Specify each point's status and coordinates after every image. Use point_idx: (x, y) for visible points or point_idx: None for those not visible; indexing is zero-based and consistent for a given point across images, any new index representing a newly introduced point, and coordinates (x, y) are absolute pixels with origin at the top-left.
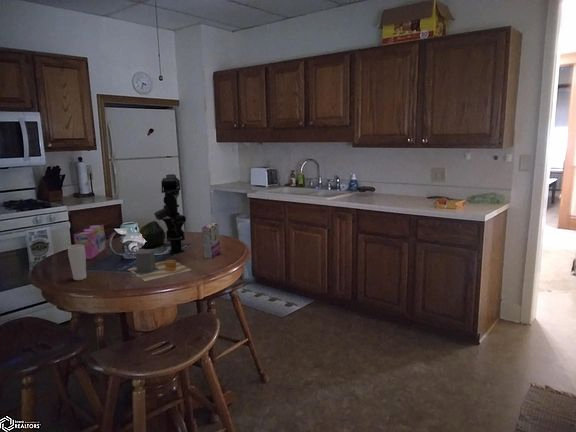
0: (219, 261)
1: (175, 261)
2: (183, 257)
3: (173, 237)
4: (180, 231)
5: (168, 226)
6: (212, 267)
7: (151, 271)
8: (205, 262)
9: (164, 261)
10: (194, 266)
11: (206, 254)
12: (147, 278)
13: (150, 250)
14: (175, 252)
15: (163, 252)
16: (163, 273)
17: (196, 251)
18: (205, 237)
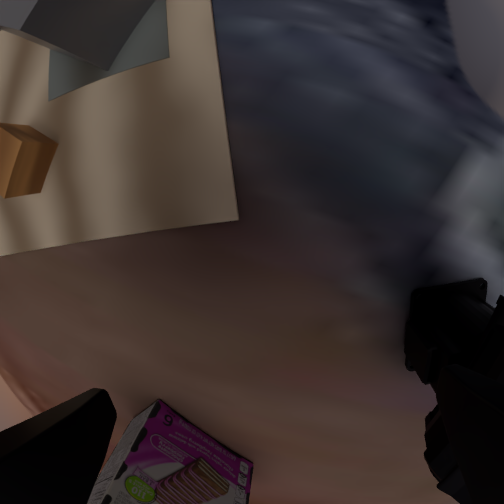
0: None
1: (3, 192)
2: (263, 318)
3: (469, 368)
4: (438, 472)
5: (501, 441)
6: (19, 348)
7: (51, 49)
8: (89, 368)
9: (217, 153)
10: (48, 294)
11: (140, 420)
12: (5, 42)
13: (14, 7)
14: (412, 307)
15: (482, 238)
16: (10, 111)
17: (343, 420)
18: (93, 501)
